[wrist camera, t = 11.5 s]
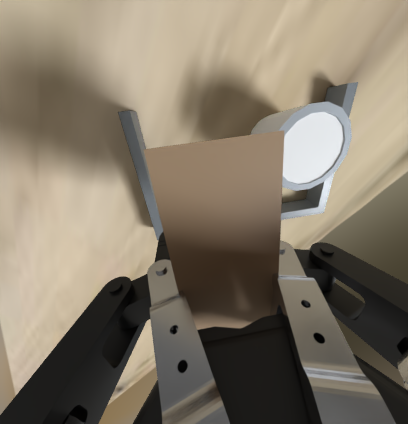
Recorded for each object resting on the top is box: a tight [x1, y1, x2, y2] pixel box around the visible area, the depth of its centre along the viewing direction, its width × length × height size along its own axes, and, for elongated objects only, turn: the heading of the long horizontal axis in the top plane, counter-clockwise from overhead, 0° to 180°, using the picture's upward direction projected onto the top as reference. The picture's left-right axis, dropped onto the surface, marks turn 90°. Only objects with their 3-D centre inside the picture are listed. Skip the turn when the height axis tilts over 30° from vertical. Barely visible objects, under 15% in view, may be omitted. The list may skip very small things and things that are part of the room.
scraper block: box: [144, 130, 284, 330], centre depth 9 cm, size 8×4×6 cm, turn 7°
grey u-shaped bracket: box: [118, 82, 358, 240], centre depth 20 cm, size 14×22×2 cm, turn 97°
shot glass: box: [250, 102, 352, 191], centre depth 17 cm, size 7×7×7 cm
